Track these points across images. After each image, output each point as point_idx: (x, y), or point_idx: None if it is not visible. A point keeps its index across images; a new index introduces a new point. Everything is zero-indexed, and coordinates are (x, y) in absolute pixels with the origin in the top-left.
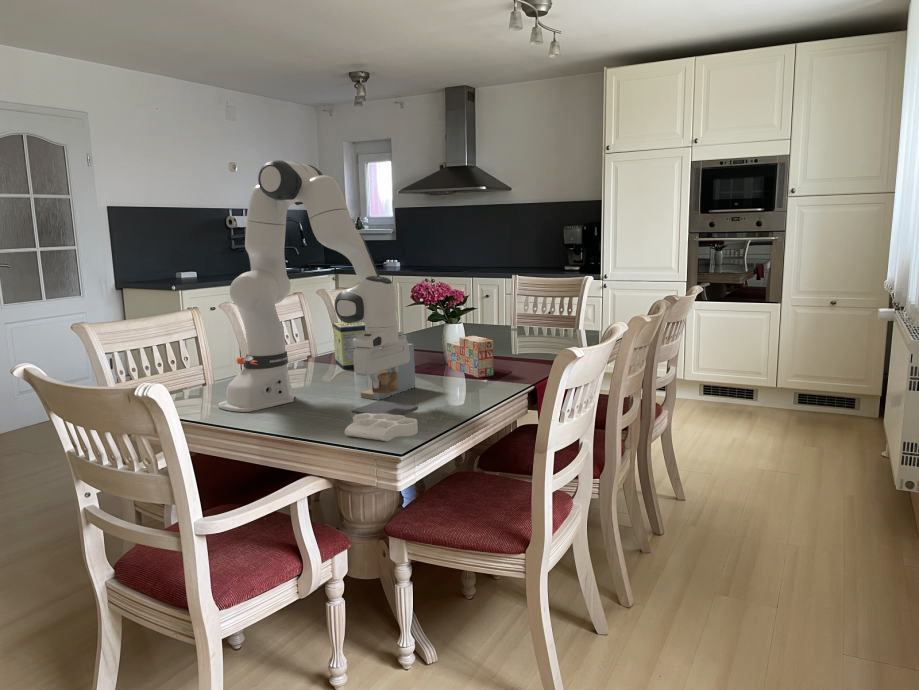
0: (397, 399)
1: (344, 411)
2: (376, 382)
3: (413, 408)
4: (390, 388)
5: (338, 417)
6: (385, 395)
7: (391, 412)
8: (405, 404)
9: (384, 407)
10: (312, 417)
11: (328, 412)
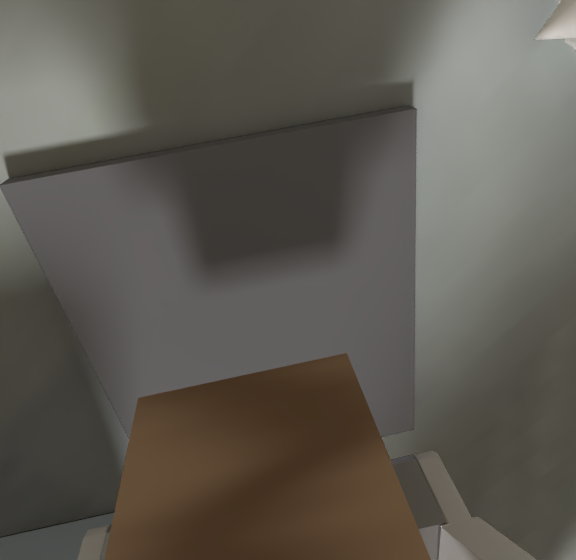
0: (13, 466)
1: (410, 452)
2: (467, 524)
3: (76, 169)
4: (281, 403)
5: (519, 391)
6: (55, 539)
7: (313, 210)
8: (67, 310)
9: (245, 353)
10: (561, 461)
11: (461, 480)
